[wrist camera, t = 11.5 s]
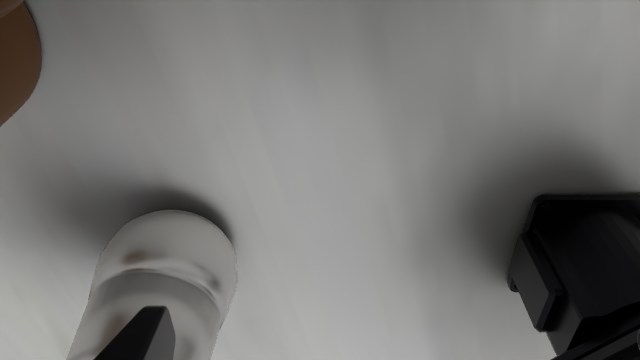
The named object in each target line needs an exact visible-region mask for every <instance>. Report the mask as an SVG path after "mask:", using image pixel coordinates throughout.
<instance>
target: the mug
mask: <svg viewBox="0 0 640 360" xmlns="http://www.w3.org/2000/svg"><path fill="white" fill-rule="evenodd" d="M23 1H24V0H0V126H1V125H2V124H3V123H5V122H6V121H7V120H8V119H9V118H10V117H11V116H12V115H13V114H14V113H15V112H16V111H17V110H18V109H19V108H20V107H21V106H22V105H23V104H24V103H25V102H26V101H27V100H28V98H29V97H30V95H31V94H32V92H33V90H34V88H35V86H36V84H37V82H38V79H39V75H40V71H41V47H40V43H39V38H38V34H37V31H36V28H35V25H34V22H33V20H32V18H31V16H30V14H29V12H28V10H27V8H26V7H25V5H24V3H23Z"/></svg>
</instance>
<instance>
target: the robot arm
mask: <svg viewBox="0 0 640 360" xmlns="http://www.w3.org/2000/svg"><path fill="white" fill-rule="evenodd" d="M544 204H547V205H546V206H544V207H542V206H543V205H544ZM509 271H510V274H509V277H508V280H507V283H508V286H509V288H510V290H511V291H513V292H519V294H520V296H521V298H522V300H523V303H524V305H525V307H526V310H527V312H528V314H529V316H530V319H531V321H532V323H533V326H534V328H535V329H536V330H537V331H538V332H546V333H547V336H548V338H549V340H550V342H551V344H552V347H553V349H554V351H555V353H556V355H557V356H556V357H554V358H553V359H551V360H640V195H541V196H539V197H537V198H536V199H535V200H534V201H533V203H532V207H531V210H530V213H529V216H528V219H527V222H526V225H525V228H524V231H523V232H522V233H521V234H520V236H519V238H518V241H517V244H516V248H515V251H514V254H513V257H512V260H511V263H510V266H509ZM175 343H176V335H175V330H174V327H173V323H172V319H171V316H170V312H169V309H168V308H167V307H166V306H163V305H149V306H145V307H143V308H142V309H141V310H140V311H139V312H138V313H137V314H136V315H135V316H134V317H133V318H132V319H131V320H130V321H129V322H128V323H127V324H126V325H125V326H124V327H123V329H122V330H121V331H120V332H119V333H118V334H117V335H116V336H115V337H114V338H113V339H112V340H111V341H110V342H109V343H108V344H107V345H106V347H105V348H104V349H103V350H102V351H101V352H100V353H99V354H98V355H97V356H96V357H95V358H94V359H93V360H173V356H174V350H175Z"/></svg>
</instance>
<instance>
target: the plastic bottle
mask: <svg viewBox="0 0 640 360" xmlns="http://www.w3.org/2000/svg"><path fill="white" fill-rule="evenodd" d="M236 287H237V261H236V253H235V251H234V248H233V246H232V244H231V243H230V241H229V240H228V238H227V237H226V236H225V234H224V233H223V232H222V231H221V230H220V229H219V228H218V227H217V226H216V225H215V224H214V223H212V222H211V221H209V220H208V219H206V218H204V217H202V216H200V215H197V214H194V213H191V212H187V211H181V210H161V211H155V212H152V213H148V214H145V215H143V216H140V217H137V218H135V219H133V220H131V221H130V222H128V223H126V224H125V225H124V226H123V227H122V228H121V229H120V230H119V231H118V232H117V234H116V235H115V236H114V237H113V238H112V240H111V241H110V242H109V243H108V244H107V246H106V247H105V248H104V250H103V252H102V254H101V255H100V258H99V261H98V264H97V267H96V270H95V273H94V276H93V280H92V285H91V289H90V294H89V299H88V300H89V301H88V304H87V306H86V309H85V312H84V314H83V317H82V319H81V322H80V325H79V327H78V330H77V333H76V335H75V338H74V341H73V343H72V346H71V348H70V351H69V354H68V356H67V359H66V360H93V359H94V358H95V357H96V356H97V355H98V354H99V353H100V352H101V351H102V350H103V349H104V348H105V347H106V345H107V344H108V343H109V342H110V341H111V340H112V339H113V338H114V337H115V336H116V335H117V334H118V333H119V332H120V331H121V330H122V329H123V327H124V326H125V325H126V324H127V323H128V322H129V321H130V320H131V319H132V318H133V317H134V316H135V315H136V314H137V313H138V312H139V311H140V310H141V309H142V308H143V307H145V306H149V305H163V306H166V307H167V308H168V309H169V312H170V316H171V319H172V323H173V327H174V330H175V335H176V343H175V350H174V356H173V360H210V359H211V356H212V353H213V349H214V346H215V342H216V339H217V336H218V332H219V330H220V328H221V326H222V324H223V322H224V320H225V318H226V315H227V313H228V311H229V309H230V306H231V303H232V300H233V297H234V294H235V291H236Z"/></svg>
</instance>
